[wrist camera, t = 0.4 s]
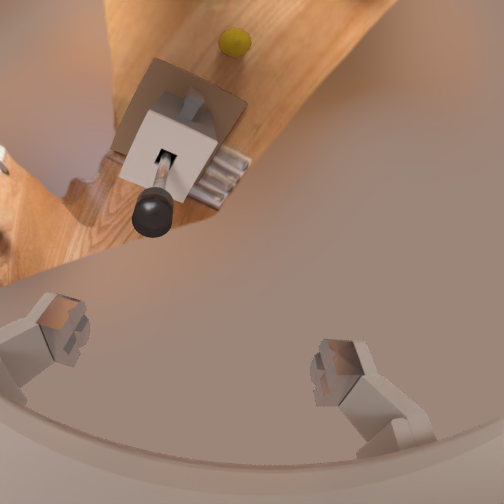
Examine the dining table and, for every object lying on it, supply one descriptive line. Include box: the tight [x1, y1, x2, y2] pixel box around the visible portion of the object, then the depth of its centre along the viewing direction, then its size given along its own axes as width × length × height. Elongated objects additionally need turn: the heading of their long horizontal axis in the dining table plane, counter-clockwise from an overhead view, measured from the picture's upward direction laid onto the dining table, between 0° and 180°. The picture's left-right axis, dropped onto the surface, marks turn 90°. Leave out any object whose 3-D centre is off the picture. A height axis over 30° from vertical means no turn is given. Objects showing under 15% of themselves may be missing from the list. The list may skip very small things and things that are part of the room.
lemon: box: [218, 28, 251, 57], centre depth 38 cm, size 6×6×8 cm
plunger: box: [132, 148, 177, 238], centre depth 33 cm, size 8×8×24 cm
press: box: [110, 58, 247, 203], centre depth 42 cm, size 20×20×20 cm
